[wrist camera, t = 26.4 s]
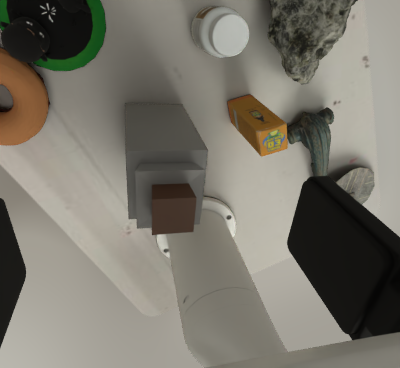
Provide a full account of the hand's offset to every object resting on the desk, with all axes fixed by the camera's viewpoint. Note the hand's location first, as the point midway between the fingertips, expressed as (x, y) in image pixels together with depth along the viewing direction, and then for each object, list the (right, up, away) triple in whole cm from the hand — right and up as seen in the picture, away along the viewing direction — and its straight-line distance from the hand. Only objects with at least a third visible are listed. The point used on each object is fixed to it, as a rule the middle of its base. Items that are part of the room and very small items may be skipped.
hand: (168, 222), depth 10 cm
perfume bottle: (-5, +8, +28) cm, 29 cm away
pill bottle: (+2, +18, +23) cm, 30 cm away
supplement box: (+6, +11, +29) cm, 32 cm away
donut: (-19, +9, +19) cm, 28 cm away
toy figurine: (-13, +18, +20) cm, 30 cm away
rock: (+11, +20, +25) cm, 34 cm away
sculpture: (+25, -2, +43) cm, 50 cm away
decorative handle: (+18, +6, +35) cm, 39 cm away
